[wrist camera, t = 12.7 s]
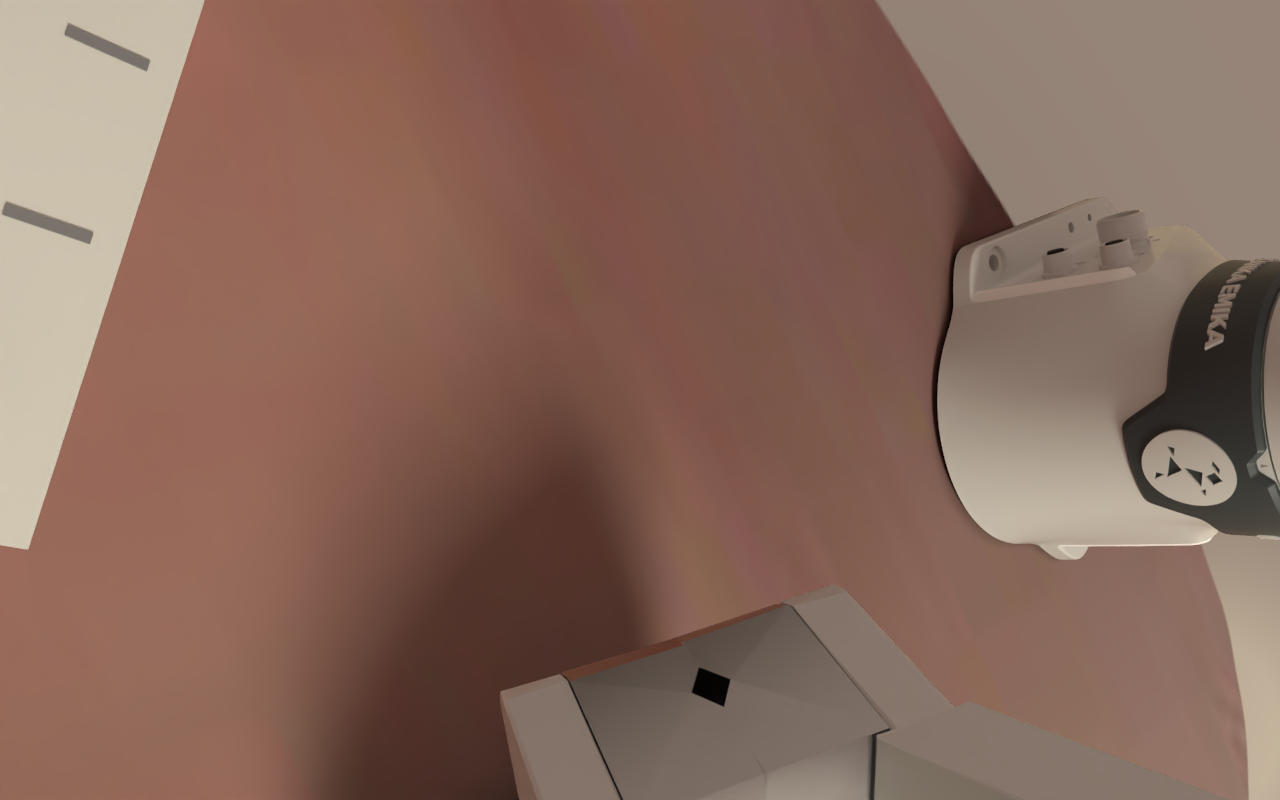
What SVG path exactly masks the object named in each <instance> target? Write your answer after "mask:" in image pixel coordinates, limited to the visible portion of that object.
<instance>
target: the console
mask: <svg viewBox="0 0 1280 800" xmlns="http://www.w3.org/2000/svg"><path fill="white" fill-rule="evenodd" d="M204 1H205V0H0V545H3V546H9V547H15V548H21V549H27V550H28V548H29V545H30V542H31V539H32V536H33V532H34V529H35V526H36V523H37V520H38V517H39V514H40V511H41V508H42V504H43V501H44V498H45V495H46V492H47V489H48V486H49V483H50V480H51V476H52V473H53V470H54V467H55V464H56V461H57V458H58V455H59V452H60V448H61V445H62V442H63V439H64V436H65V433H66V430H67V427H68V424H69V420H70V417H71V414H72V411H73V408H74V405H75V402H76V399H77V396H78V393H79V389H80V386H81V383H82V380H83V377H84V374H85V371H86V368H87V365H88V361H89V358H90V355H91V352H92V349H93V346H94V343H95V340H96V337H97V333H98V330H99V327H100V324H101V321H102V318H103V315H104V312H105V309H106V305H107V302H108V299H109V296H110V293H111V290H112V287H113V284H114V281H115V277H116V274H117V271H118V268H119V265H120V262H121V259H122V256H123V253H124V249H125V246H126V243H127V240H128V237H129V234H130V231H131V228H132V225H133V221H134V218H135V215H136V212H137V209H138V206H139V203H140V200H141V197H142V193H143V190H144V187H145V184H146V181H147V178H148V175H149V172H150V169H151V165H152V162H153V159H154V156H155V153H156V150H157V147H158V144H159V141H160V138H161V134H162V131H163V128H164V125H165V122H166V119H167V116H168V113H169V110H170V106H171V103H172V100H173V97H174V94H175V91H176V88H177V85H178V82H179V78H180V75H181V72H182V69H183V66H184V63H185V60H186V57H187V54H188V50H189V47H190V44H191V41H192V38H193V35H194V32H195V29H196V26H197V22H198V19H199V16H200V13H201V10H202V7H203V4H204Z"/></svg>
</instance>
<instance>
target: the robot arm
mask: <svg viewBox="0 0 1280 800" xmlns="http://www.w3.org/2000/svg"><path fill="white" fill-rule="evenodd" d="M937 408H938V423H939V432H940V439H941V444H942V449H943V454H944V458H945V462H946V465H947V469H948V472H949V475H950V477H951V480H952V483H953V485H954V488H955V490H956V492H957V494H958V496H959V498H960V500H961V502H962V503H963V505H964V507H965V508H966V510H967V511H968V513H969V514H970V515H971V517H972V518H973V519H974V520H975V521H976V523H977V524H978V525H979V526H980V527H981V528H982V529H984V530H985V531H986V532H987V533H989V534H990V535H992V536H993V537H995V538H997V539H999V540H1001V541H1004V542H1008V543H1015V544H1023V543H1031V544H1036V545H1039V546H1040V547H1041V548H1042V549H1043V550H1045V551H1046V552H1047V553H1049V554H1050V555H1051V556H1053V557H1055V558H1057V559H1060V560H1073V559H1080V558H1081V557H1082V556H1083V555H1084V554H1085V552H1086V550H1087V548H1088V546H1168V545H1198V544H1203V543H1206V542H1208V541H1209V540H1211V538H1212V537H1213V536H1214V535H1215V534H1216V533H1218V532H1219V531H1220V532H1222V533H1225V534H1230V535H1247V536H1257V537H1258V538H1264V539H1280V261H1279V259H1255V260H1252V261H1242V260H1231V261H1227V260H1226V259H1225V258H1224V257H1222V256H1221V255H1220V254H1219V253H1218V252H1217V251H1216V250H1214V249H1213V248H1212V247H1211V246H1210V245H1209V244H1208V243H1207V242H1206V241H1205V240H1204V239H1203V238H1202V237H1201V236H1200V235H1199V234H1197V233H1196V232H1195V231H1194V230H1192V229H1190V228H1188V227H1186V226H1183V225H1173V226H1163V227H1156V228H1149V229H1148V228H1147V223H1146V218H1145V213H1144V212H1143V211H1142V210H1141V209H1140V210H1131V211H1126V212H1121V213H1118V212H1117V211H1116V210H1115V208H1114V207H1113V206H1112V205H1111V203H1109V201H1108V200H1107V199H1105V198H1094V199H1086V200H1083V201H1080V202H1078V203H1075V204H1072V205H1070V206H1067V207H1065V208H1062V209H1060V210H1057V211H1054V212H1052V213H1049V214H1046V215H1044V216H1041V217H1039V218H1036V219H1034V220H1031V221H1028V222H1026V223H1023V224H1020V225H1018V226H1015V227H1013V228H1010V229H1008V230H1005V231H1002V232H1000V233H997V234H995V235H992V236H989V237H987V238H984V239H982V240H979V241H976V242H974V243H971V244H969V245H966V246H964V247H962V248H961V249H960V250H959V252H958V253H957V256H956V259H955V264H954V278H953V312H952V317H951V322H950V326H949V329H948V333H947V336H946V340H945V343H944V347H943V352H942V356H941V362H940V369H939V377H938V393H937ZM500 705H501V710H502V716H503V721H504V726H505V731H506V736H507V741H508V746H509V751H510V756H511V761H512V767H513V772H514V777H515V782H516V787H517V792H518V796H519V800H1230V799H1227V798H1224V797H1222V796H1219V795H1216V794H1214V793H1211V792H1208V791H1206V790H1203V789H1200V788H1198V787H1195V786H1192V785H1190V784H1187V783H1185V782H1182V781H1179V780H1177V779H1174V778H1171V777H1169V776H1166V775H1163V774H1161V773H1158V772H1155V771H1153V770H1150V769H1147V768H1145V767H1142V766H1139V765H1137V764H1134V763H1132V762H1129V761H1126V760H1124V759H1121V758H1118V757H1116V756H1113V755H1110V754H1108V753H1105V752H1102V751H1100V750H1097V749H1094V748H1092V747H1089V746H1086V745H1084V744H1081V743H1079V742H1076V741H1073V740H1071V739H1068V738H1065V737H1063V736H1060V735H1057V734H1055V733H1052V732H1049V731H1047V730H1044V729H1041V728H1039V727H1036V726H1033V725H1031V724H1028V723H1026V722H1023V721H1020V720H1018V719H1015V718H1012V717H1010V716H1007V715H1004V714H1002V713H999V712H996V711H994V710H991V709H988V708H986V707H983V706H980V705H978V704H975V703H973V702H967V703H964V704H961V705H958V706H955V707H953V706H952V705H951V703H950V702H949V701H948V700H947V699H946V698H945V697H944V696H943V695H942V694H941V693H940V692H939V690H938V689H937V688H936V687H935V686H934V685H933V684H932V683H931V682H930V681H929V680H928V679H927V678H926V676H925V675H924V674H923V673H922V672H921V671H920V670H919V669H918V668H917V667H916V666H915V665H914V664H913V662H912V661H911V660H910V659H909V658H908V657H907V656H906V655H905V654H904V653H903V652H902V651H901V649H900V648H899V647H898V646H897V645H896V644H895V643H894V642H893V641H892V640H891V639H890V638H889V637H888V635H887V634H886V633H885V632H884V631H883V630H882V629H881V628H880V627H879V626H878V625H877V624H876V622H875V621H874V620H873V619H872V618H871V617H870V616H869V615H868V614H867V613H866V612H865V611H864V610H863V608H862V607H861V606H860V605H859V604H858V603H857V602H856V601H855V600H854V599H853V598H852V597H851V595H850V594H849V593H848V592H847V591H846V590H845V589H843V588H841V587H839V586H836V585H834V584H832V585H829V586H826V587H823V588H820V589H817V590H814V591H811V592H808V593H806V594H803V595H800V596H797V597H794V598H791V599H788V600H785V601H782V602H781V603H780V604H775V605H772V606H769V607H766V608H763V609H760V610H757V611H754V612H751V613H748V614H745V615H742V616H739V617H736V618H733V619H730V620H727V621H724V622H721V623H718V624H715V625H712V626H709V627H706V628H703V629H700V630H697V631H694V632H691V633H688V634H685V635H682V636H679V637H676V638H673V639H671V640H668V641H664V642H661V643H657V644H654V645H651V646H647V647H644V648H641V649H637V650H634V651H631V652H627V653H624V654H620V655H617V656H614V657H610V658H607V659H604V660H600V661H597V662H593V663H590V664H587V665H583V666H580V667H577V668H573V669H570V670H567V671H563V672H562V676H561V675H560V674H558V675H555V676H552V677H548V678H545V679H541V680H538V681H534V682H531V683H527V684H524V685H521V686H517V687H514V688H510V689H507V690H503V691H501V692H500Z"/></svg>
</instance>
